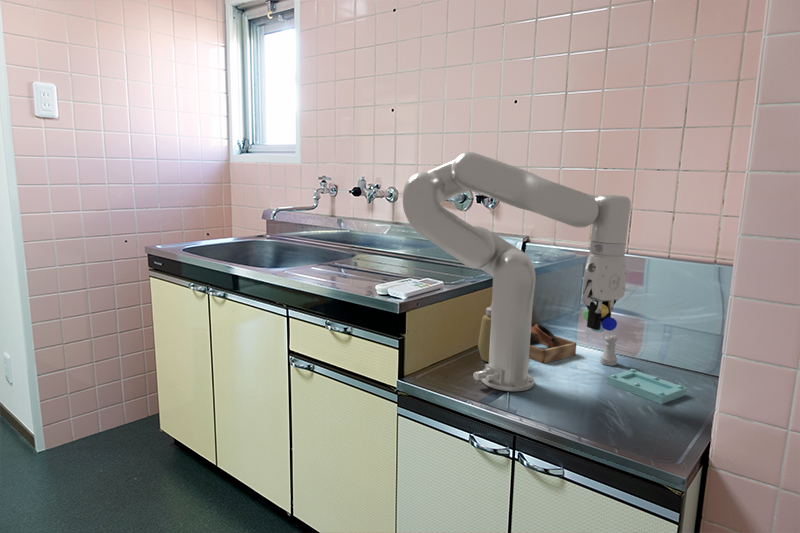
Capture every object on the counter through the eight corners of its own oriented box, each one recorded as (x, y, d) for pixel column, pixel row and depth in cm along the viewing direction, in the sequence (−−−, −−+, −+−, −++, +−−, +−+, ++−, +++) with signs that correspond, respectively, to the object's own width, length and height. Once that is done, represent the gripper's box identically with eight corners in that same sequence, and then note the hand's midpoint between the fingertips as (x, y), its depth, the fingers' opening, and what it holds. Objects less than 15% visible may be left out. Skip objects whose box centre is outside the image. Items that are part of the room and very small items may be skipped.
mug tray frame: (542, 363, 145) (543, 351, 144) (500, 347, 158) (501, 335, 158) (576, 355, 153) (577, 343, 152) (534, 340, 166) (534, 329, 165)
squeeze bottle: (507, 366, 142) (511, 299, 139) (476, 363, 144) (480, 298, 141) (506, 356, 150) (510, 293, 147) (477, 354, 151) (480, 291, 148)
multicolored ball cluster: (617, 334, 123) (620, 307, 122) (610, 336, 121) (613, 308, 120) (587, 326, 129) (590, 300, 128) (580, 327, 128) (583, 301, 127)
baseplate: (661, 404, 120) (662, 394, 120) (607, 383, 132) (608, 374, 131) (685, 395, 126) (686, 386, 125) (631, 376, 137) (632, 367, 137)
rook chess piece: (618, 367, 144) (621, 338, 142) (601, 365, 145) (603, 336, 143) (615, 361, 148) (618, 333, 147) (598, 360, 149) (601, 332, 148)
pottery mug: (524, 342, 165) (540, 321, 162) (547, 363, 159) (564, 342, 157) (505, 341, 155) (522, 318, 153) (529, 363, 150) (546, 340, 148)
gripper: (598, 253, 115) (589, 336, 118) (643, 250, 124) (633, 328, 127) (570, 248, 121) (561, 327, 124) (614, 246, 130) (605, 320, 133)
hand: (598, 327), depth 125 cm, fingers closed on multicolored ball cluster, 2 cm apart
